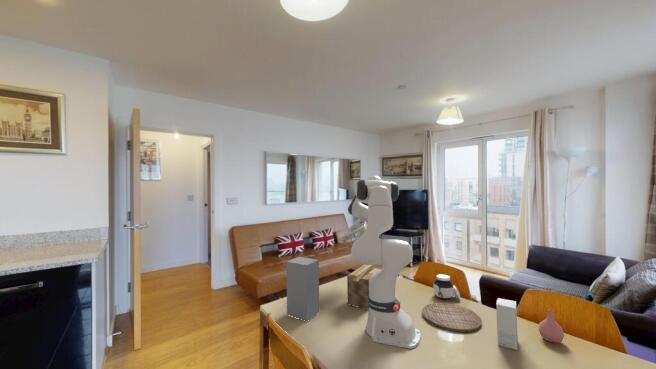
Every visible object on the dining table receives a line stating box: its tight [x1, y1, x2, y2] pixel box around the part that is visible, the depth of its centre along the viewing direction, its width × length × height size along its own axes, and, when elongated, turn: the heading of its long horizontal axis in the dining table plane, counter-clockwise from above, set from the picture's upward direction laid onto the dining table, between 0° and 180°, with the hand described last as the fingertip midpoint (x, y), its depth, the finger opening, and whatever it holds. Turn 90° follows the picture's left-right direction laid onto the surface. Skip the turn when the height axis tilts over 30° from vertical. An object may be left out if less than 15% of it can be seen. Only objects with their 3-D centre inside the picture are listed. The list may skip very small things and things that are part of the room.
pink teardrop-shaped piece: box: [538, 308, 565, 343], centre depth 102 cm, size 8×8×12 cm
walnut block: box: [346, 272, 374, 311], centre depth 137 cm, size 12×10×15 cm
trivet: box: [421, 302, 483, 334], centre depth 121 cm, size 25×25×2 cm
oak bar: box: [349, 264, 374, 282], centre depth 138 cm, size 4×22×3 cm, turn 149°
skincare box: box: [495, 297, 519, 351], centre depth 102 cm, size 8×7×16 cm
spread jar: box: [432, 273, 461, 301], centre depth 143 cm, size 12×11×12 cm
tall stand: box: [286, 256, 320, 322], centre depth 126 cm, size 12×10×26 cm
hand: (348, 239), depth 152 cm, fingers open, 8 cm apart
